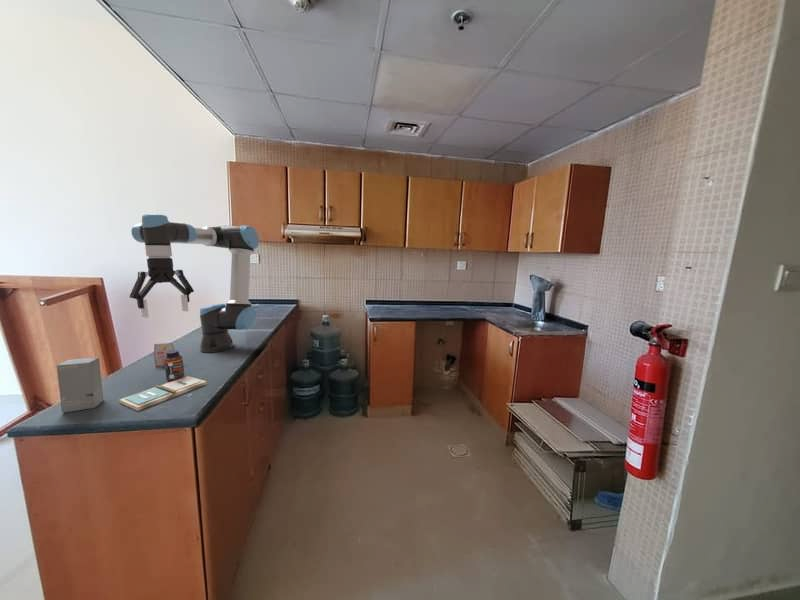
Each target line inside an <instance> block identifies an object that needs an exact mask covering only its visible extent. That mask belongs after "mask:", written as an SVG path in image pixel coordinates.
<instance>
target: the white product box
mask: <svg viewBox="0 0 800 600" xmlns="http://www.w3.org/2000/svg"><path fill="white" fill-rule="evenodd" d="M153 346H154V349H153V357H154V364H155V365H154V366H155V368H158V367H165V364H164V359H165V358H166V357H167V354H166V353H167V352H168V351H172V350H176V348H175V347H174V344H173V342H163V343H154V345H153Z"/></svg>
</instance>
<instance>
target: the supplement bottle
mask: <svg viewBox="0 0 800 600" xmlns="http://www.w3.org/2000/svg"><path fill="white" fill-rule="evenodd" d="M166 354H167V357H166V358H165V359H164V364H165V366H164V369H165V371H164V372H165V379H166V380H167V381H168V382H169V381H170V382H172V381H175V380H177V379H180V378H183V377H185V368H184V361H183V359H184V358H183V356H182V355H181V354H180V352H179V350H177V349H175V350H172V351H168V352H167V353H166Z"/></svg>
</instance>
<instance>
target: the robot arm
mask: <svg viewBox="0 0 800 600" xmlns="http://www.w3.org/2000/svg"><path fill="white" fill-rule="evenodd" d="M168 218H169V217H168V216H167V215H164V214H156V213H146V214H143V215H141V223H137V224H134V225H133V226H132V227H131V236H132V238H133V239H134V240H135V241H137V242H139V243H142V244H143V243H144V245H145V246H144V249H145V256H146V257H148V258H147V259H146V263H147V264H146V265H147V269H148V270H147V271H141V270H140V271H138V272H137V279H136V281H135V283H134V285H133V287H132V290H131V292H130V295H129V299H134V300H136V302H137V303H136V304H137V308H138V309H141V317H142V318H144V319H145V318H149V317H150V316H149V310H148V303H147V299H146V296H147V295H148V294H149V292H150V291H151V290H152V289H153V287H154V286H155V285H156V284H162V283H170V284H171V285H172V286H174V287H175V288H176V289H177V290H178V291H179V292H180V293H182V294H180V300H181V308H182V309H181V310H182V311H183V312H189V310H190V309H189V303H190V295H191V293H194V292H195V290H194V289H193V287H192V285H191V283H190V282H189V281H188V279H187V277H186V276H185V275H184V270H183V269H175V270H174V261H173V258H172V256H173V253H172V244H187V245H188V244H189V245H191V244H193V245H195V244H196V245H204V246H206V247H215V248H222V249H228V251H229V252H230V254H231V265H230V266H231V267H230V288H229V289H230V290H229V300H227V302H226V303H217V304H210V305H205V306H203V307H201V308H200V309H199V318H200V320H199V321H200V327H201V334H202V337H201V341H200V345H199V350H200V352H201V351H202V352H201V353H216V352H217V351H218V352H222V351H226V350H229V349H231V348H233V347H234V340H233V339H232V337H231V335H230V333H229V330H236V331H237V330H238V331H242V330H249V329H251V328H252V326H253V325H254V324H255V322H256V319H257V312H256V309H255V308H254V307H252V303H251V301H250V300H249V296H250V295H249V293H250V292H249V291H250V272H251V256H252V254H254V253H255V252H254V251H255V249H257V248H259V245H260V237H259V234H258V232H257V231H256V229H255V228H254V227H253V226H251V225H243V224H242V225H221V226H220V225H219V226H203V227H202V228H201V227H194V226H193V225H191V224H187V223H184V222H183V223H181V222H180V223H179V222H171V221H169V219H168ZM174 276H177V278H178V280H179V281H180V282H178V280H177V279H176V278H175V277H174ZM147 277H149V279H148V281H147V282H146V284H145V285H144V283H145V280H146V278H147ZM143 285H144V286H143Z"/></svg>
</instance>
